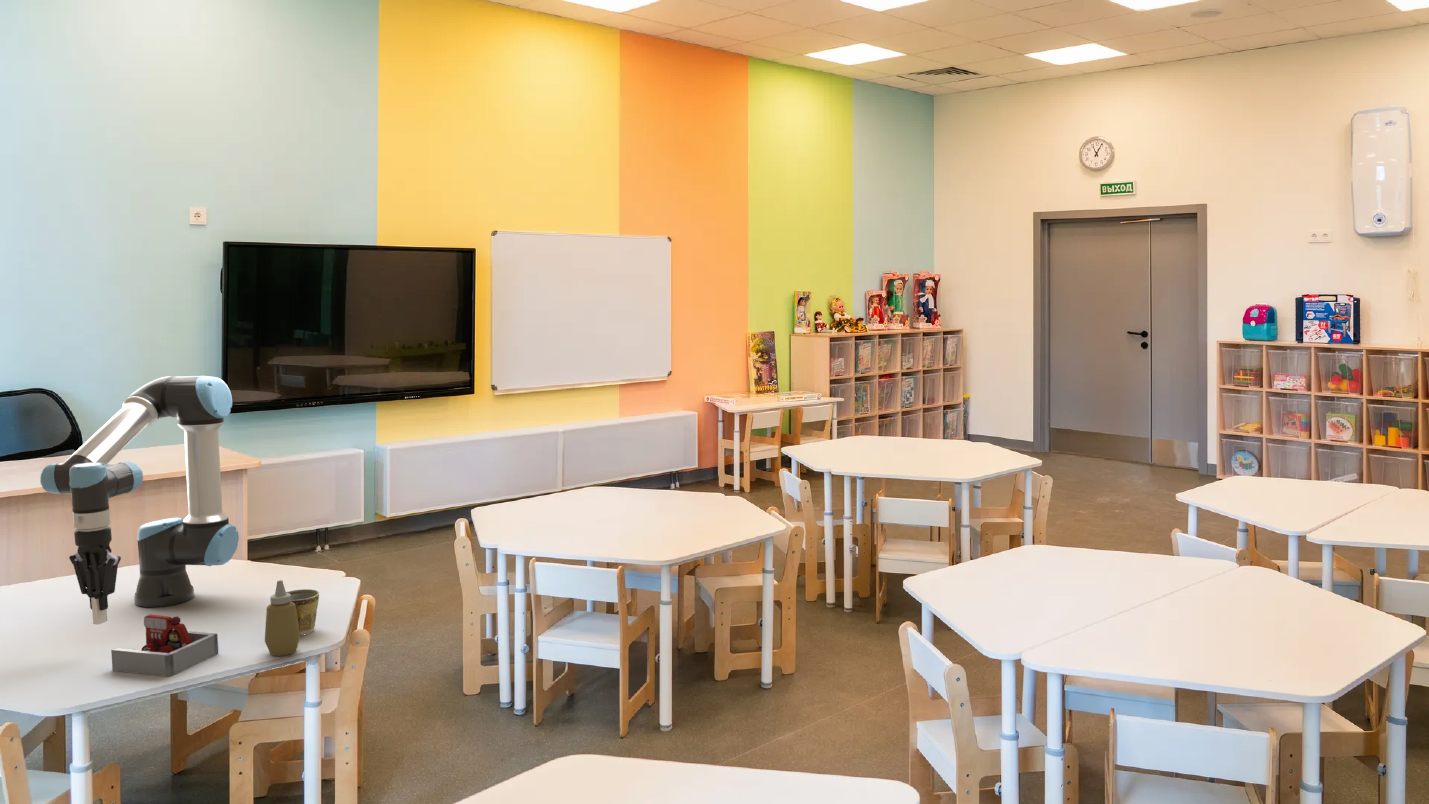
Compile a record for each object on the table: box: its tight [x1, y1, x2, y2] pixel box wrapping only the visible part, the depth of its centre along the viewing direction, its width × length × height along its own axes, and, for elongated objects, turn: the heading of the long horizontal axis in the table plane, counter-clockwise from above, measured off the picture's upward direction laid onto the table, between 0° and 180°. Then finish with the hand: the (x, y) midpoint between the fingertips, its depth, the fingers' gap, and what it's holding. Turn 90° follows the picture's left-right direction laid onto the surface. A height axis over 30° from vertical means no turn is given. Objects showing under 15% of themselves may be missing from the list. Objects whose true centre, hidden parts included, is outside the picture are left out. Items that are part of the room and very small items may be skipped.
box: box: [110, 630, 219, 678], centre depth 238 cm, size 16×15×5 cm
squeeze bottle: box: [264, 579, 301, 657], centre depth 243 cm, size 8×8×18 cm
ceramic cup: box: [286, 588, 320, 636], centre depth 260 cm, size 13×10×10 cm
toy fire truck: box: [140, 614, 191, 653], centre depth 240 cm, size 7×12×10 cm, turn 74°
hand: (100, 622), depth 242 cm, fingers closed
